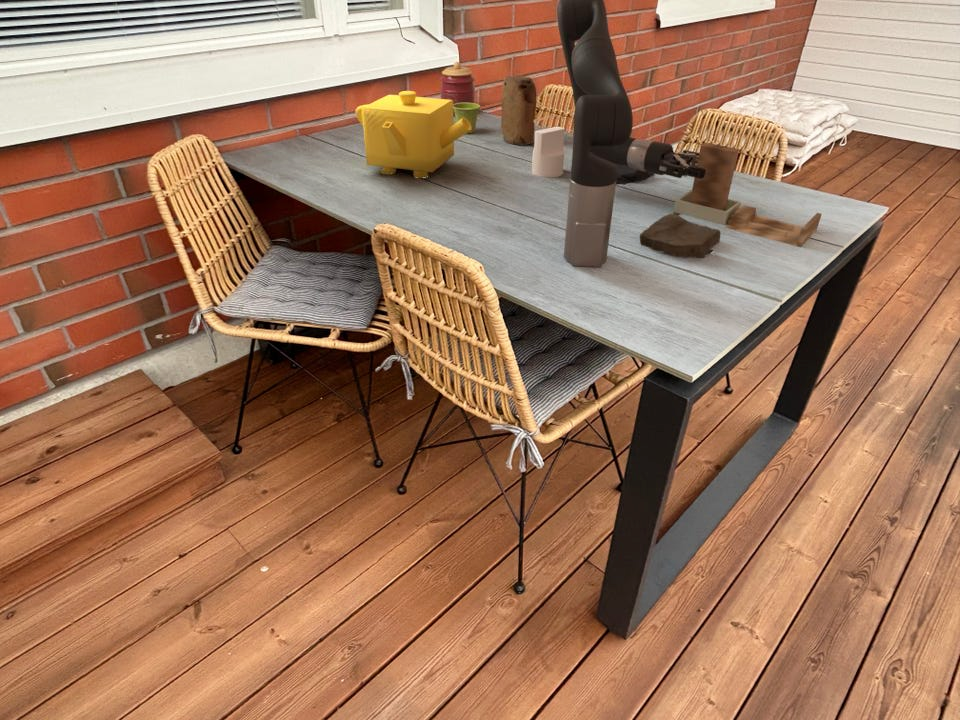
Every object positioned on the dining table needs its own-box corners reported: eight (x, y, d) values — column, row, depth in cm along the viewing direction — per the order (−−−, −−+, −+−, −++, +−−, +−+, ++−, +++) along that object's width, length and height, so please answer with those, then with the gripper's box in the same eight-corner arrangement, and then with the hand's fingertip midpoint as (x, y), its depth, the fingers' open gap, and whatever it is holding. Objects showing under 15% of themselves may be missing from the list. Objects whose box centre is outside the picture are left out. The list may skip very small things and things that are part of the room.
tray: (672, 215, 160) (675, 200, 158) (687, 205, 166) (690, 190, 164) (723, 228, 154) (727, 212, 151) (737, 217, 159) (741, 201, 157)
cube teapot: (335, 179, 182) (325, 99, 170) (381, 149, 205) (376, 78, 193) (451, 193, 172) (449, 110, 160) (486, 161, 196) (487, 86, 184)
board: (688, 210, 160) (700, 145, 151) (693, 207, 162) (705, 142, 153) (719, 218, 156) (734, 152, 147) (724, 214, 158) (739, 149, 149)
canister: (457, 118, 238) (457, 66, 228) (433, 112, 245) (431, 61, 235) (481, 112, 246) (482, 61, 236) (457, 106, 253) (457, 57, 243)
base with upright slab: (545, 179, 182) (548, 136, 176) (525, 171, 188) (527, 128, 182) (569, 173, 187) (572, 130, 180) (548, 165, 193) (551, 124, 186)
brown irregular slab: (667, 226, 156) (670, 209, 153) (726, 243, 148) (730, 225, 145) (632, 247, 145) (634, 230, 143) (693, 267, 137) (697, 249, 135)
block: (498, 140, 214) (499, 75, 203) (514, 136, 218) (517, 72, 207) (521, 147, 207) (524, 81, 196) (537, 143, 211) (541, 78, 200)
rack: (723, 231, 152) (728, 211, 150) (741, 216, 160) (746, 196, 157) (799, 251, 143) (806, 229, 141) (815, 234, 151) (821, 213, 148)
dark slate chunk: (603, 158, 200) (605, 143, 197) (658, 177, 185) (661, 161, 183) (566, 167, 193) (568, 151, 190) (620, 188, 178) (623, 171, 175)
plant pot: (468, 126, 228) (468, 101, 223) (485, 132, 222) (485, 106, 217) (447, 131, 223) (446, 105, 218) (464, 137, 217) (464, 110, 212)
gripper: (638, 147, 155) (702, 160, 147) (664, 135, 165) (726, 147, 156) (634, 178, 160) (696, 193, 151) (660, 164, 169) (720, 177, 160)
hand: (711, 169), depth 154 cm, fingers open, 8 cm apart
